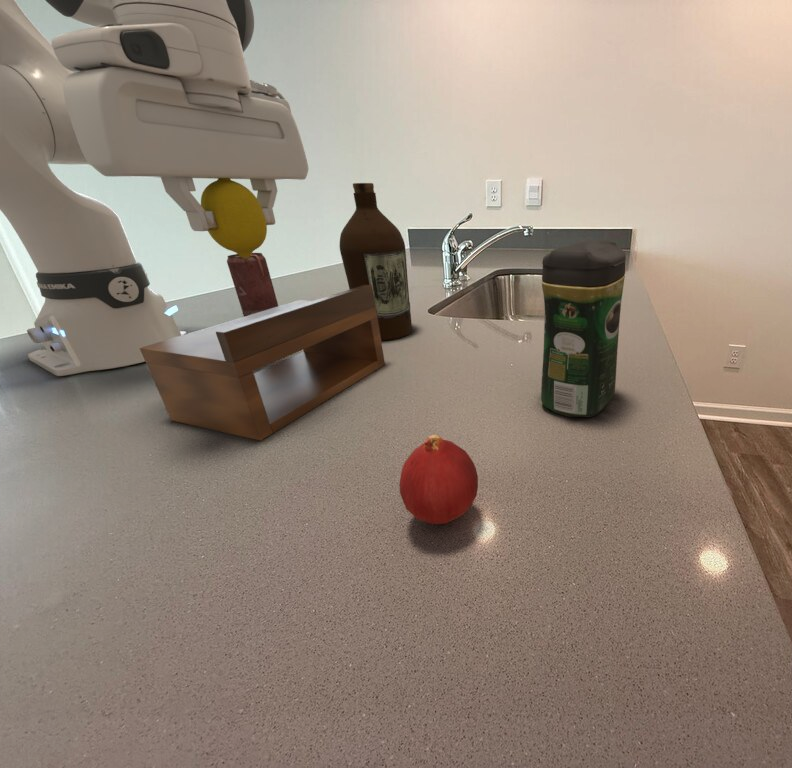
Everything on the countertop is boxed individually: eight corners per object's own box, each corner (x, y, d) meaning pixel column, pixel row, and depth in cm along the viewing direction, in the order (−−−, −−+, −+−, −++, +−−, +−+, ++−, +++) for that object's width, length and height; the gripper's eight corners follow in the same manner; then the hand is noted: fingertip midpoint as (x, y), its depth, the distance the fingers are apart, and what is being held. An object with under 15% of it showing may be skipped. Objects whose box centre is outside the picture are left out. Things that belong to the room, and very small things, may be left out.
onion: (412, 497, 35) (399, 416, 31) (479, 492, 35) (474, 411, 32) (401, 552, 29) (384, 461, 26) (481, 545, 30) (474, 455, 26)
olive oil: (346, 333, 76) (316, 184, 65) (397, 321, 82) (377, 184, 72) (373, 346, 69) (344, 182, 58) (426, 332, 75) (409, 182, 65)
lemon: (232, 264, 41) (206, 174, 37) (205, 259, 43) (179, 175, 40) (285, 256, 45) (265, 175, 42) (258, 253, 48) (237, 176, 44)
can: (269, 333, 77) (247, 256, 71) (241, 332, 78) (216, 256, 72) (291, 324, 82) (272, 251, 76) (264, 322, 83) (243, 251, 77)
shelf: (171, 420, 47) (127, 320, 42) (312, 354, 66) (294, 280, 61) (260, 441, 43) (224, 332, 38) (385, 364, 62) (372, 284, 56)
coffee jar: (564, 379, 55) (569, 235, 47) (621, 392, 52) (637, 238, 44) (529, 410, 48) (529, 245, 40) (593, 427, 44) (607, 249, 36)
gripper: (263, 90, 47) (292, 220, 53) (20, 33, 29) (104, 236, 35) (306, 86, 45) (331, 221, 51) (73, 22, 27) (153, 239, 33)
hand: (237, 227), depth 43 cm, fingers closed on lemon, 5 cm apart
